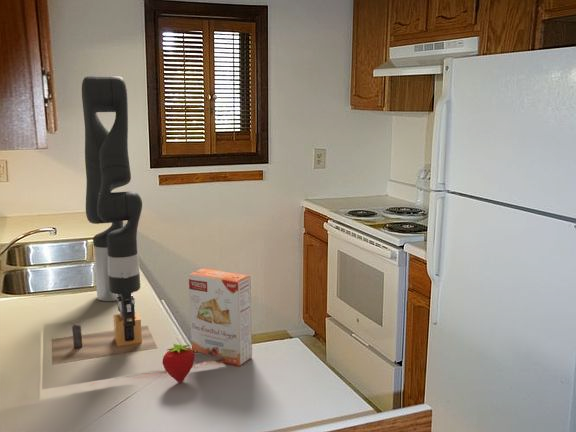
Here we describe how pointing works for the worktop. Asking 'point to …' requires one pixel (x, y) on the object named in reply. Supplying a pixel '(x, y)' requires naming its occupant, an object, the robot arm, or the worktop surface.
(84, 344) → the board
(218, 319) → the cracker box
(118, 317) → the collar
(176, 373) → the strawberry
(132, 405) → the worktop surface
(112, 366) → the worktop surface
